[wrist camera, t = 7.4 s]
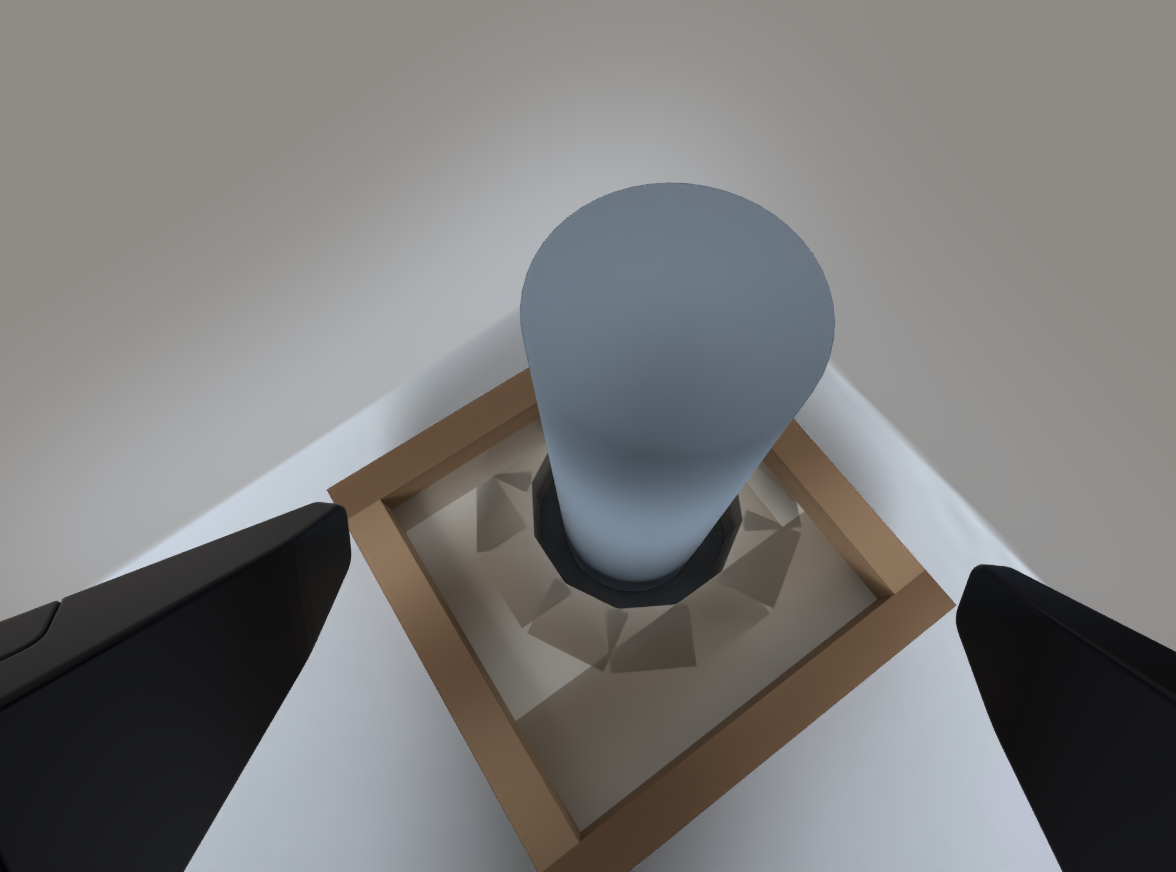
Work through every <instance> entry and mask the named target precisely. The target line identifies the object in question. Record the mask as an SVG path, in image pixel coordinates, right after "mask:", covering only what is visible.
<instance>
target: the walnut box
mask: <svg viewBox="0 0 1176 872" xmlns="http://www.w3.org/2000/svg"><path fill="white" fill-rule="evenodd" d="M553 480H554V478H553V473H552V468H551V464H550V459H549V455H548V450H547V446H546V441H545V436H544V432H543V427H542V423H541V418H540V414H539V409H538V404H537V400H536V395H535V391H534V386H533V382H532V377H531V372H530V368H527V369H526V370H524V371H522V372H521V373H519V374H517V375H516V376H514V377H512V378H511V379H509V380H507V381H506V382H504V383H502V384H501V385H499V386H497V387H496V388H494V389H493V390H491V391H489V392H488V393H486V394H484V395H483V396H481V397H479V398H478V399H476V400H474V401H473V402H471V403H469V404H468V405H466V406H464V407H463V408H461V409H459V410H458V411H456V412H454V413H453V414H451V415H449V416H448V417H446V418H445V419H443V420H441V421H440V422H438V423H436V424H435V425H433V426H431V427H430V428H428V429H426V430H425V431H423V432H421V433H420V434H418V435H416V436H415V437H413V438H411V439H410V440H408V441H406V442H405V443H403V444H401V445H400V446H398V447H397V448H395V449H393V450H392V451H390V452H388V453H387V454H385V455H383V456H382V457H380V458H378V459H377V460H375V461H373V462H372V463H370V464H368V465H367V466H365V467H363V468H362V469H360V470H358V471H357V472H355V473H353V474H352V475H350V476H349V477H347V478H345V479H344V480H342V481H340V482H339V483H337V484H335V485H334V486H332V487H330V488H329V489H327V491H328V493H329V495H330V497H331V498H332V500H333V502H334V504H341V505H342V506H343V507H344V508H345V509H346V512H347V516H348V525H349V531H350V533H351V535H352V536H353V538H354V540H355V542H356V544H357V545H358V547H359V549H360V551H361V553H362V555H363V556H364V558H365V560H366V562H367V564H368V565H369V567H370V569H371V571H372V573H373V574H374V576H375V578H376V580H377V582H378V584H379V585H380V587H381V589H382V591H383V593H384V594H385V596H386V598H387V600H388V602H389V603H390V605H391V607H392V609H393V611H394V612H395V614H396V616H397V618H398V620H399V622H400V623H401V625H402V627H403V629H404V631H405V632H406V634H407V636H408V638H409V640H410V641H411V643H412V645H413V647H414V649H415V650H416V652H417V654H418V656H419V658H420V660H421V661H422V663H423V665H424V667H425V669H426V670H427V672H428V674H429V676H430V678H431V679H432V681H433V683H434V685H435V687H436V689H437V690H438V692H439V694H440V696H441V698H442V699H443V701H444V703H445V705H446V707H447V708H448V710H449V712H450V714H451V716H452V717H453V719H454V721H455V723H456V725H457V727H458V728H459V730H460V732H461V734H462V736H463V737H464V739H465V741H466V743H467V745H468V746H469V748H470V750H471V752H472V754H473V756H474V757H475V759H476V761H477V763H478V765H479V766H480V768H481V770H482V772H483V774H484V775H485V777H486V779H487V781H488V783H489V784H490V786H491V788H492V790H493V792H494V794H495V795H496V797H497V799H498V801H499V803H500V804H501V806H502V808H503V810H504V812H505V813H506V815H507V817H508V819H509V821H510V823H511V824H512V826H513V828H514V830H515V832H516V833H517V835H518V837H519V839H520V841H521V842H522V844H523V846H524V848H525V850H526V851H527V853H528V855H529V857H530V859H531V861H532V862H533V864H534V866H535V868H536V870H537V871H538V872H629V871H630V870H631V869H633V868H634V867H635V866H636V865H638V864H639V863H640V862H641V861H642V860H644V859H645V858H646V857H647V856H649V855H650V854H651V853H652V852H654V851H655V850H656V849H657V848H658V847H660V846H661V845H662V844H663V843H665V842H666V841H667V840H668V839H670V838H671V837H672V836H673V835H674V834H676V833H677V832H678V831H679V830H681V829H682V828H683V827H684V826H686V825H687V824H688V823H689V822H690V821H692V820H693V819H694V818H695V817H697V816H698V815H699V814H700V813H702V812H703V811H704V810H705V809H706V808H708V807H709V806H710V805H711V804H713V803H714V802H715V801H716V800H718V799H719V798H720V797H721V796H722V795H724V794H725V793H726V792H727V791H729V790H730V789H731V788H732V787H734V786H735V785H736V784H737V783H738V782H740V781H741V780H742V779H743V778H745V777H746V776H747V775H748V774H750V773H751V772H752V771H753V770H754V769H756V768H757V767H758V766H759V765H761V764H762V763H763V762H764V761H766V760H767V759H768V758H769V757H770V756H772V755H773V754H774V753H775V752H777V751H778V750H779V749H780V748H782V747H783V746H784V745H785V744H786V743H788V742H789V741H790V740H791V739H793V738H794V737H795V736H796V735H798V734H799V733H800V732H801V731H802V730H804V729H805V728H806V727H807V726H809V725H810V724H811V723H812V722H814V721H815V720H816V719H817V718H818V717H820V716H821V715H822V714H823V713H825V712H826V711H827V710H828V709H830V708H831V707H832V706H833V705H834V704H836V703H837V702H838V701H839V700H841V699H842V698H843V697H844V696H846V695H847V694H848V693H849V692H850V691H852V690H853V689H854V688H855V687H857V686H858V685H859V684H860V683H862V682H863V681H864V680H865V679H866V678H868V677H869V676H870V675H871V674H873V673H874V672H875V671H876V670H878V669H879V668H880V667H881V666H882V665H884V664H885V663H886V662H887V661H889V660H890V659H891V658H892V657H894V656H895V655H896V654H897V653H898V652H900V651H901V650H902V649H903V648H905V647H906V646H907V645H908V644H910V643H911V642H912V641H913V640H914V639H916V638H917V637H918V636H919V635H921V634H922V633H923V632H924V631H926V630H927V629H928V628H929V627H930V626H932V625H933V624H934V623H935V622H937V621H938V620H939V619H940V618H942V617H943V616H944V615H945V614H946V613H948V612H949V611H950V610H951V609H953V608H954V607H955V606H956V604H955V603H954V602H953V601H952V600H951V599H950V597H949V596H948V595H947V594H946V593H945V592H944V591H943V589H942V588H941V587H940V586H939V585H938V584H937V582H936V581H935V580H934V579H933V578H932V577H931V576H930V574H929V573H928V572H927V571H926V570H925V569H924V568H923V566H922V565H921V564H920V563H919V562H918V561H917V560H916V558H915V557H914V556H913V555H912V554H911V553H910V552H909V550H908V549H907V548H906V547H905V546H904V545H903V544H902V542H901V541H900V540H899V539H898V538H897V537H896V536H895V534H894V533H893V532H892V531H891V530H890V529H889V527H888V526H887V525H886V524H885V523H884V522H883V521H882V519H881V518H880V517H879V516H878V515H877V514H876V513H875V511H874V510H873V509H872V508H871V507H870V506H869V505H868V503H867V502H866V501H865V500H864V499H863V498H862V497H861V495H860V494H859V493H858V492H857V491H856V490H855V489H854V487H853V486H852V485H851V484H850V483H849V482H848V481H847V479H846V478H845V477H844V476H843V475H842V474H841V473H840V471H839V470H838V469H837V468H836V467H835V466H834V464H833V463H832V462H831V461H830V460H829V459H828V458H827V456H826V455H825V454H824V453H823V452H822V451H821V450H820V448H819V447H818V446H817V445H816V444H815V443H814V442H813V440H812V439H811V438H810V437H809V436H808V435H807V434H806V432H805V431H804V430H803V429H802V428H801V427H800V426H799V424H798V423H797V422H796V421H795V420H794V419H792V421H791V422H790V423H789V425H788V426H787V427H786V429H785V430H784V432H783V433H782V434H781V436H780V437H779V438H778V440H777V441H776V442H775V444H774V445H773V447H772V448H771V449H770V451H769V452H768V453H767V455H766V456H765V457H764V459H763V460H762V461H761V463H760V464H759V466H758V467H757V468H756V470H755V471H754V472H753V474H752V475H751V476H750V478H749V479H748V481H747V482H746V483H745V485H744V486H743V487H742V489H741V490H740V491H739V493H738V494H737V496H736V497H735V498H734V500H733V501H732V502H731V504H730V505H729V506H728V508H727V509H726V510H725V512H724V513H723V515H722V523H723V529H724V536H725V541H724V544H723V546H722V549H721V551H720V554H719V556H718V559H717V561H716V563H715V566H714V568H713V571H712V573H711V576H710V578H709V581H708V582H706V583H705V584H703V585H702V586H701V587H699V588H698V589H697V590H695V591H694V592H692V593H691V594H690V595H688V596H687V597H686V598H684V599H683V600H681V601H680V602H679V603H677V604H674V605H662V606H649V607H636V608H624V609H617V608H615V607H613V606H611V605H609V604H607V603H605V602H602V601H600V600H598V599H596V598H594V597H592V596H590V595H588V594H586V593H584V592H582V591H580V590H578V589H576V588H574V587H572V586H570V585H568V584H566V583H565V582H564V581H563V579H562V578H561V576H560V575H559V573H558V572H557V570H556V569H555V567H554V565H553V564H552V562H551V561H550V559H549V558H548V556H547V555H546V553H545V552H544V550H543V549H542V543H541V523H540V505H541V503H542V501H543V499H544V497H545V495H546V493H547V491H548V489H549V487H550V486H551V484H552V482H553Z"/></svg>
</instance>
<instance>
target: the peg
mask: <svg viewBox="0 0 1176 872" xmlns="http://www.w3.org/2000/svg"><path fill="white" fill-rule="evenodd" d="M520 319H521V329H522V335H523V340H524V345H525V350H526V354H527V359H528V363H529V368H530V372H531V377H532V382H533V386H534V391H535V395H536V400H537V404H538V409H539V414H540V418H541V423H542V427H543V432H544V436H545V441H546V446H547V450H548V455H549V459H550V464H551V468H552V473H553V478H554V482H555V487H556V491H557V496H558V500H559V505H560V510H561V514H562V519H563V523H564V528H565V533H566V537H567V542H568V545H569V548H570V550H571V552H572V554H573V556H574V558H575V560H576V561H577V563H578V564H579V566H580V567H581V568H582V569H583V570H584V571H585V572H586V573H587V574H588V575H589V576H590V577H592V578H593V579H595V580H596V581H598V582H599V583H601V584H603V585H605V586H607V587H610V588H613V589H617V590H622V591H644V590H648V589H652V588H655V587H658V586H660V585H662V584H664V583H666V582H668V581H669V580H671V579H672V578H673V577H675V576H676V575H677V574H678V573H679V572H680V571H681V570H682V569H683V567H684V566H685V565H686V564H687V562H688V561H689V559H690V558H691V557H692V555H693V554H694V553H695V551H696V550H697V549H698V547H699V546H700V545H701V543H702V542H703V540H704V539H705V538H706V536H707V535H708V534H709V532H710V531H711V530H712V528H713V527H714V525H715V524H716V523H717V521H718V520H719V519H720V517H721V516H722V515H723V513H724V512H725V510H726V509H727V508H728V506H729V505H730V504H731V502H732V501H733V500H734V498H735V497H736V496H737V494H738V493H739V491H740V490H741V489H742V487H743V486H744V485H745V483H746V482H747V481H748V479H749V478H750V476H751V475H752V474H753V472H754V471H755V470H756V468H757V467H758V466H759V464H760V463H761V461H762V460H763V459H764V457H765V456H766V455H767V453H768V452H769V451H770V449H771V448H772V447H773V445H774V444H775V442H776V441H777V440H778V438H779V437H780V436H781V434H782V433H783V432H784V430H785V429H786V427H787V426H788V425H789V423H790V422H791V421H792V419H793V418H794V417H795V415H796V414H797V412H798V411H799V410H800V408H801V407H802V406H803V404H804V403H805V402H806V400H807V399H808V398H809V396H810V395H811V393H812V392H813V391H814V389H815V387H816V386H817V384H818V382H819V380H820V379H821V377H822V375H823V373H824V371H825V368H826V366H827V363H828V361H829V358H830V354H831V350H832V345H833V340H834V327H835V318H834V307H833V301H832V297H831V293H830V289H829V285H828V283H827V280H826V278H825V275H824V273H823V271H822V269H821V267H820V265H819V264H818V262H817V260H816V258H815V257H814V255H813V253H812V252H811V251H810V249H809V248H808V247H807V245H805V243H804V242H803V241H802V239H801V238H800V237H799V236H798V235H797V234H796V233H795V232H794V231H793V230H792V229H791V228H790V227H789V226H788V225H787V224H785V223H784V222H783V221H782V220H780V219H779V218H778V217H777V216H775V215H774V214H772V213H771V212H769V211H767V210H766V209H764V208H763V207H761V206H760V205H758V204H756V203H754V202H751V201H749V200H747V199H745V198H743V197H741V196H738V195H735V194H732V193H730V192H727V191H724V190H720V189H716V188H712V187H708V186H702V185H694V184H688V183H656V184H646V185H641V186H635V187H630V188H627V189H623V190H619V191H616V192H613V193H610V194H608V195H606V196H603V197H601V198H598V199H596V200H594V201H592V202H591V203H589V204H587V205H585V206H583V207H581V208H580V209H579V210H577V211H576V212H575V213H573V214H572V215H570V216H569V217H567V218H566V219H565V220H564V221H563V222H562V223H561V224H560V225H559V226H558V227H556V228H555V229H554V230H553V232H552V233H551V234H550V235H549V237H548V238H547V239H546V240H545V241H544V242H543V244H542V245H541V247H540V248H539V250H538V252H537V254H536V255H535V257H534V258H533V260H532V263H531V265H530V267H529V270H528V272H527V274H526V278H525V282H524V286H523V289H522V296H521V304H520Z"/></svg>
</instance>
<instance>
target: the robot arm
mask: <svg viewBox="0 0 1176 872" xmlns="http://www.w3.org/2000/svg"><path fill="white" fill-rule="evenodd" d="M350 562H351V544H350V535H349V525H348V516H347V512H346V509H345V508H344V507H343V506H342V505H341V504H334V503H324V502H315V503H311V504H309V505H306V506H304V507H301V508H298V509H296V510H293V511H290V512H288V513H285V514H283V515H280V516H277V517H275V518H272V519H269V520H267V521H264V522H262V523H259V524H256V525H254V526H251V527H248V528H246V529H243V530H241V531H238V532H235V533H233V534H230V535H227V536H225V537H222V538H220V539H217V540H214V541H212V542H209V543H206V544H204V545H201V546H199V547H196V548H193V549H191V550H188V551H185V552H183V553H180V554H178V555H175V556H172V557H170V558H167V559H164V560H162V561H159V562H157V563H154V564H151V565H149V566H146V567H143V568H141V569H138V570H136V571H133V572H130V573H128V574H125V575H122V576H120V577H117V578H115V579H112V580H109V581H107V582H104V583H101V584H99V585H96V586H94V587H91V588H88V589H86V590H83V591H80V592H78V593H75V594H73V595H70V596H67V597H65V598H63V599H62V601H61V603H60V602H59V601H54V602H51V603H49V604H46V605H44V606H41V607H38V608H35V609H33V610H31V611H28V612H25V613H22V614H20V615H17V616H14V617H12V618H9V619H6V620H3V621H1V622H0V872H184V870H185V869H186V867H187V865H188V864H189V862H190V860H191V858H192V857H193V855H194V853H195V852H196V850H197V848H198V846H199V845H200V843H201V841H202V840H203V838H204V836H205V835H206V833H207V831H208V829H209V828H210V826H211V824H212V823H213V821H214V819H215V817H216V816H217V814H218V812H219V811H220V809H221V807H222V805H223V804H224V802H225V800H226V799H227V797H228V795H229V794H230V792H231V790H232V788H233V787H234V785H235V783H236V782H237V780H238V778H239V776H240V775H241V773H242V771H243V770H244V768H245V766H246V764H247V763H248V761H249V759H250V758H251V756H252V754H253V753H254V751H255V749H256V747H257V746H258V744H259V742H260V741H261V739H262V737H263V735H264V734H265V732H266V730H267V729H268V727H269V725H270V723H271V722H272V720H273V718H274V717H275V715H276V713H277V711H278V710H279V708H280V706H281V705H282V703H283V701H284V700H285V698H286V696H287V694H288V693H289V691H290V689H291V688H292V686H293V684H294V682H295V681H296V679H297V677H298V676H299V674H300V672H301V670H302V669H303V667H304V665H305V663H306V661H307V660H308V658H309V656H310V654H311V652H312V650H313V648H314V646H315V643H316V641H317V639H318V637H319V635H320V632H321V630H322V628H323V626H324V623H325V621H326V619H327V617H328V614H329V612H330V610H331V608H332V605H333V603H334V601H335V598H336V596H337V594H338V592H339V589H340V587H341V585H342V583H343V580H344V578H345V576H346V574H347V571H348V569H349V566H350ZM956 626H957V630H958V633H959V636H960V639H961V641H962V644H963V647H964V650H965V652H966V655H967V658H968V661H969V664H970V666H971V669H972V672H973V675H974V677H975V680H976V683H977V686H978V689H979V691H980V694H981V697H982V700H983V702H984V705H985V708H986V711H987V713H988V716H989V718H990V721H991V723H992V726H993V728H994V731H995V733H996V735H997V737H998V739H999V742H1000V744H1001V746H1002V748H1003V750H1004V752H1005V754H1006V756H1007V758H1008V761H1009V763H1010V765H1011V767H1012V769H1013V771H1014V773H1015V775H1016V777H1017V779H1018V781H1019V783H1020V785H1021V787H1022V789H1023V791H1024V794H1025V796H1026V798H1027V800H1028V802H1029V804H1030V806H1031V808H1032V810H1033V812H1034V814H1035V816H1036V818H1037V820H1038V822H1039V825H1040V827H1041V829H1042V831H1043V833H1044V835H1045V837H1046V839H1047V841H1048V843H1049V845H1050V847H1051V849H1052V851H1053V853H1054V855H1055V858H1056V860H1057V862H1058V864H1059V866H1060V868H1061V870H1062V872H1176V652H1175V651H1173V650H1172V649H1169V648H1167V647H1166V646H1164V645H1162V644H1159V643H1158V642H1156V641H1154V640H1152V639H1150V638H1148V637H1146V636H1144V635H1142V634H1140V633H1138V632H1136V631H1134V630H1132V629H1130V628H1128V627H1126V626H1124V625H1122V624H1120V623H1119V622H1117V621H1115V620H1113V619H1111V618H1109V617H1107V616H1105V615H1103V614H1101V613H1099V612H1097V611H1095V610H1093V609H1091V608H1089V607H1087V606H1085V605H1083V604H1081V603H1079V602H1077V601H1075V600H1073V599H1071V598H1070V597H1068V596H1066V595H1064V594H1061V593H1060V592H1058V591H1056V590H1054V589H1052V588H1050V587H1048V586H1046V585H1044V584H1042V583H1040V582H1038V581H1036V580H1034V579H1032V578H1030V577H1028V576H1026V575H1024V574H1022V573H1021V572H1019V571H1017V570H1015V569H1013V568H1010V567H1006V566H996V565H986V564H981V565H978V566H976V567H974V569H973V570H972V571H971V573H970V576H969V578H968V581H967V584H966V587H965V589H964V592H963V595H962V598H961V601H960V603H959V606H958V609H957V613H956Z"/></svg>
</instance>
